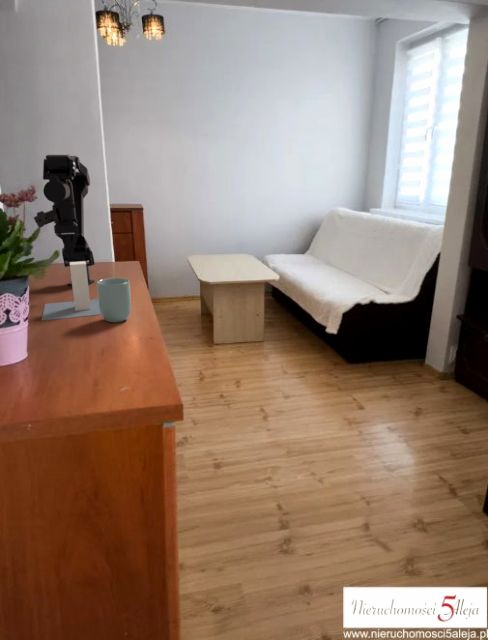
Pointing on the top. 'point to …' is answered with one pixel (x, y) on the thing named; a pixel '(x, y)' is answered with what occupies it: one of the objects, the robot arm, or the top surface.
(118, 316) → the cup
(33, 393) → the top surface
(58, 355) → the top surface
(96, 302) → the slate mat
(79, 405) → the top surface
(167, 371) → the top surface
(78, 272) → the block
